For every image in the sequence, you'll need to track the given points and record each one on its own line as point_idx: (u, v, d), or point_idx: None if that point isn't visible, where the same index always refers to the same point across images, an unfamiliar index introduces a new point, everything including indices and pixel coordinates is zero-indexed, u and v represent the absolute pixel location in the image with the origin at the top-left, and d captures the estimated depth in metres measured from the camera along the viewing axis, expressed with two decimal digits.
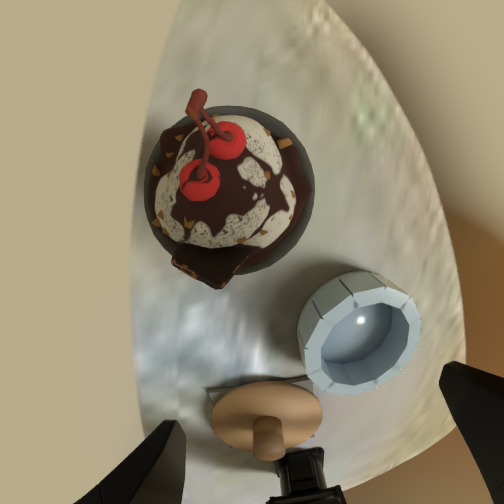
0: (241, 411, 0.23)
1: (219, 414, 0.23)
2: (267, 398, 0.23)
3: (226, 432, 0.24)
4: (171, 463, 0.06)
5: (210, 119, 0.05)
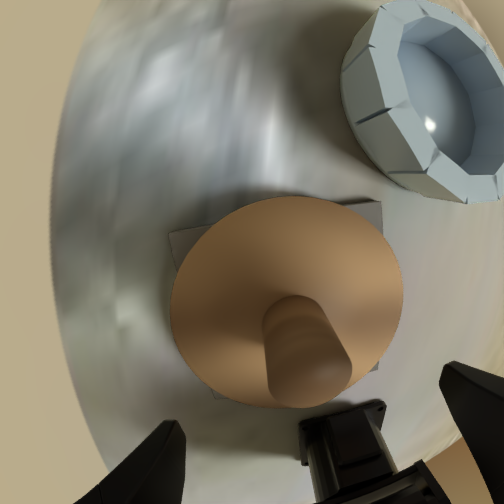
0: (237, 279, 0.12)
1: (189, 290, 0.12)
2: (296, 234, 0.11)
3: (204, 350, 0.13)
4: (171, 463, 0.06)
5: None
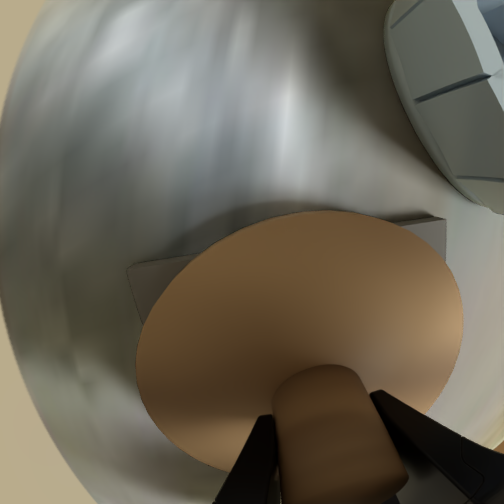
0: (234, 346, 0.07)
1: (160, 357, 0.07)
2: (332, 277, 0.07)
3: (190, 427, 0.08)
4: None
5: None
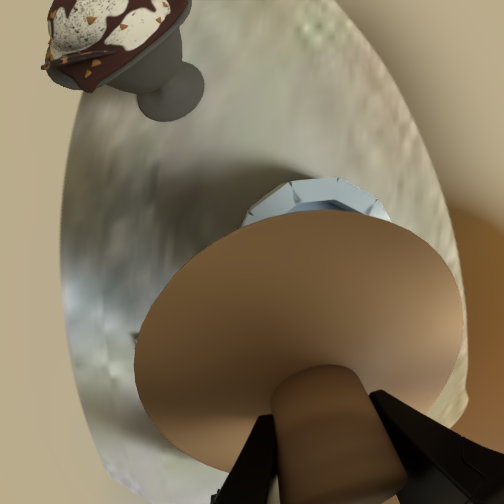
0: (233, 346, 0.07)
1: (159, 357, 0.07)
2: (331, 276, 0.07)
3: (189, 427, 0.08)
4: None
5: None
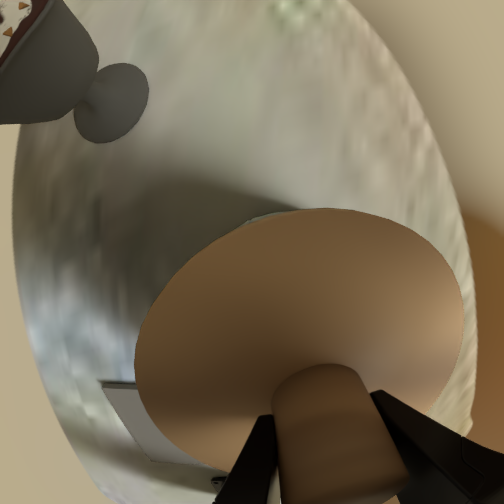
0: (234, 345, 0.07)
1: (159, 357, 0.07)
2: (333, 275, 0.07)
3: (189, 427, 0.08)
4: None
5: None
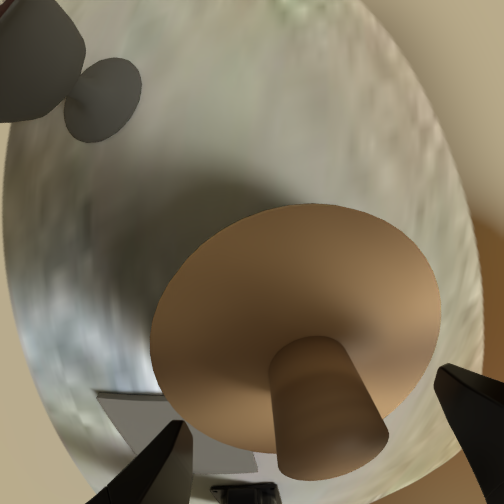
0: (236, 317, 0.09)
1: (172, 329, 0.09)
2: (317, 257, 0.08)
3: (196, 397, 0.09)
4: (179, 464, 0.06)
5: None
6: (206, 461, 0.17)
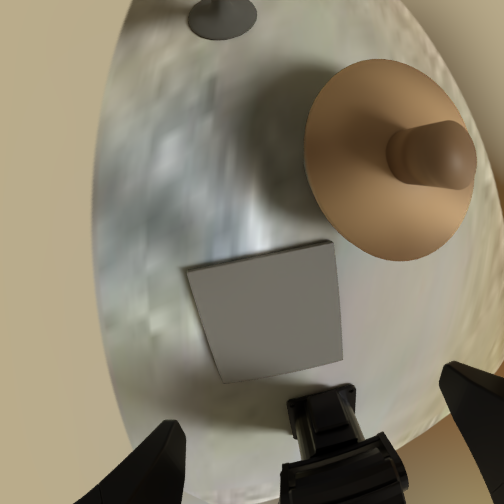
0: (365, 110, 0.12)
1: (326, 116, 0.12)
2: (400, 84, 0.11)
3: (338, 180, 0.13)
4: (171, 463, 0.06)
5: None
6: (295, 348, 0.20)
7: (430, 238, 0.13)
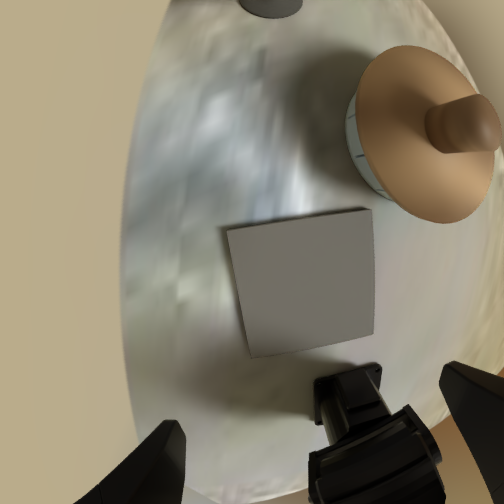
0: (406, 85, 0.11)
1: (375, 85, 0.12)
2: (433, 69, 0.11)
3: (386, 140, 0.12)
4: (171, 463, 0.06)
5: None
6: (329, 319, 0.19)
7: (461, 205, 0.13)
